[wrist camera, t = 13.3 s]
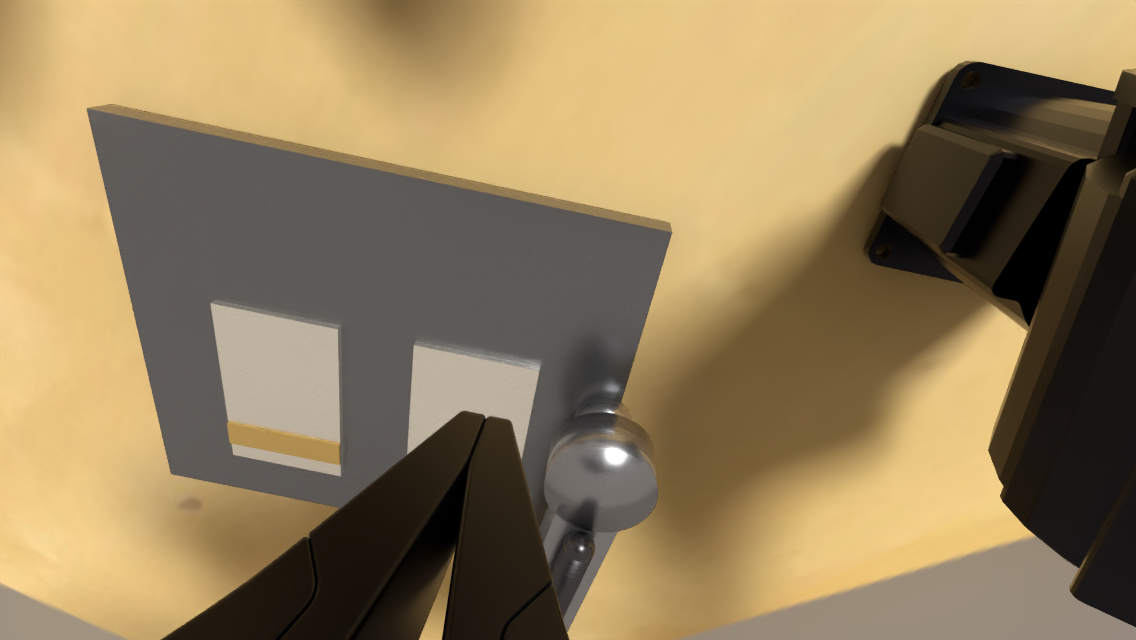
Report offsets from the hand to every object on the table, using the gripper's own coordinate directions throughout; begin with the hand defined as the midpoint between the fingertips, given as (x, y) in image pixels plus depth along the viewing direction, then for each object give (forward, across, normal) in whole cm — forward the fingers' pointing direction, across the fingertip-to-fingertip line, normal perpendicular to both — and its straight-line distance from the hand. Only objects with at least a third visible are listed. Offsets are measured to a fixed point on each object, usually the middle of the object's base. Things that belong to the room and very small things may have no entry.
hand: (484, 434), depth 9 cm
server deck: (+12, +6, +8) cm, 16 cm away
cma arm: (+9, -3, +16) cm, 19 cm away
